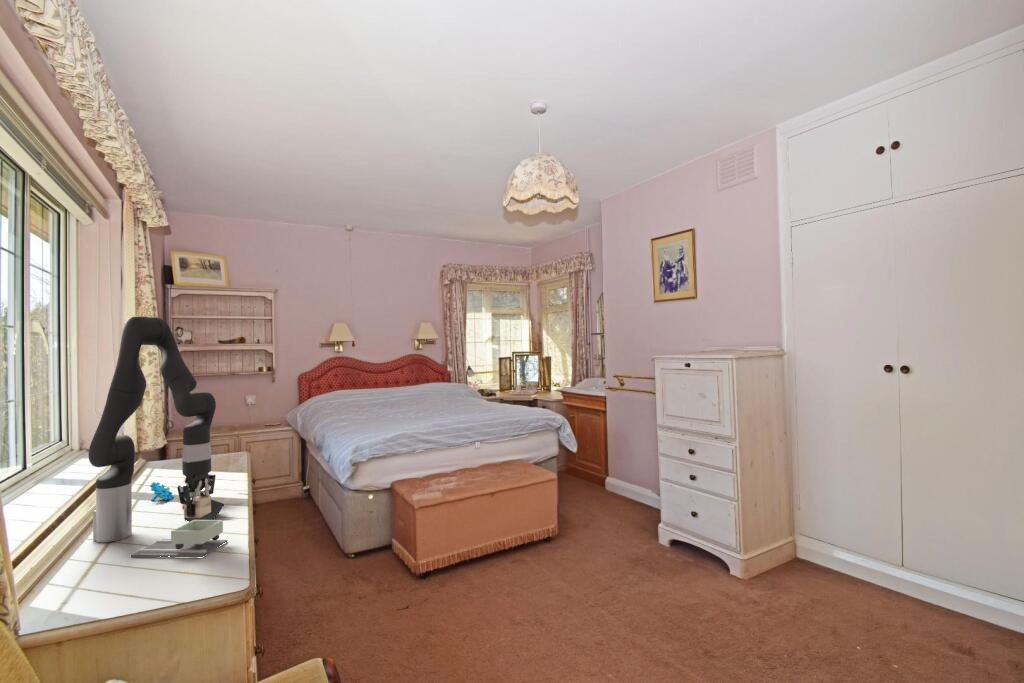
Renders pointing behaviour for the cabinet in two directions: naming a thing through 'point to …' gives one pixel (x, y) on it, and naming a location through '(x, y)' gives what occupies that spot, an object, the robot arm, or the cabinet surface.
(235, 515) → the cabinet surface
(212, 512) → the dark piece
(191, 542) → the mint green tray
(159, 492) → the blue bumpy figure
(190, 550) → the track
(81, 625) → the cabinet surface
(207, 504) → the block
